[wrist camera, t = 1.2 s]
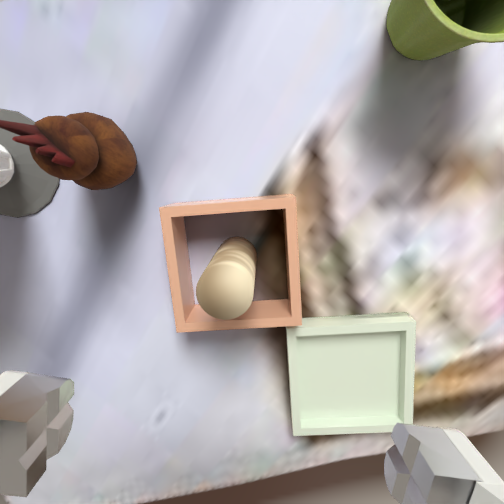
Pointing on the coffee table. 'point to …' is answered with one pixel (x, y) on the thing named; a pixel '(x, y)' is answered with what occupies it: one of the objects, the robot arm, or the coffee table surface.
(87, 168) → the wooden figurine
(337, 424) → the sage tray
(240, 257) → the beech peg
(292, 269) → the frame
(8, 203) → the cup
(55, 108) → the coffee table surface
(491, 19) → the plant pot
